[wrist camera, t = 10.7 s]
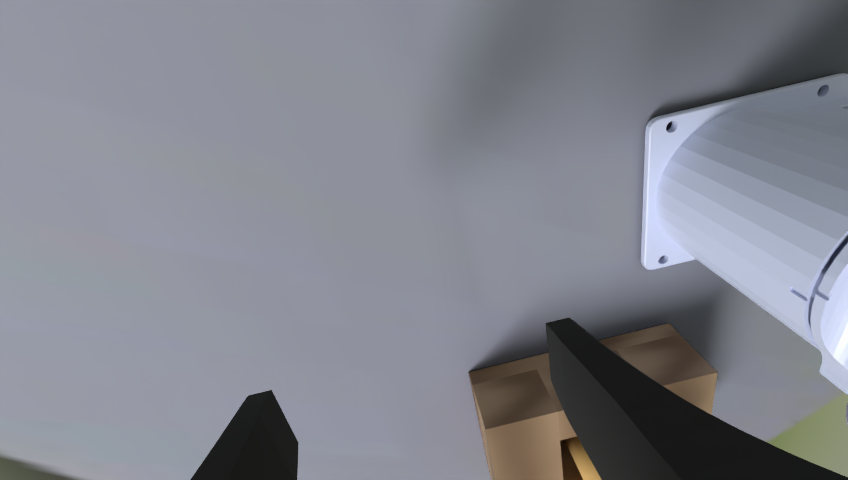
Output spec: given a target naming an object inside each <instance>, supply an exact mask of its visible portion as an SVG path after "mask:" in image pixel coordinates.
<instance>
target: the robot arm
mask: <svg viewBox="0 0 848 480" xmlns="http://www.w3.org/2000/svg"><path fill="white" fill-rule="evenodd" d="M820 87H821V89H820ZM819 89H820V92H819V93H818V90H819ZM671 121H672V126H671V127H670V129H668V130H666V127H667V124H668V123H669V122H671ZM663 255H664V256H663ZM661 256H663V258H662V259H660V260H659V258H660V257H661ZM695 259H697V260H698V261H700V262H701V263H702V264H704V265H705V266H706V267H708V268H709V269H710V270H712V271H713V272H714V273H716V274H717V275H718V276H720V277H721V278H723V279H724V280H725V281H727V282H728V283H729V284H731V285H732V286H733V287H735V288H736V289H737V290H739V291H740V292H741V293H743V294H744V295H745V296H747V297H748V298H750V299H751V300H752V301H754V302H755V303H756V304H758V305H759V306H760V307H762V308H763V309H764V310H766V311H767V312H768V313H770V314H771V315H773V316H774V317H775V318H777V319H778V320H779V321H781V322H782V323H783V324H785V325H786V326H787V327H789V328H790V329H791V330H793V331H794V332H796V333H797V334H798V335H800V336H801V337H802V338H804V339H805V340H806V341H808V342H809V343H810V344H812V345H813V346H814V347H816V348H817V349H818V350H820V351H821V353H822V364H821V367H820V373H821V374H822V375H823V376H824V377H826V378H827V379H828V380H829V381H831V382H832V383H833V384H835V385H836V386H837V387H838V388H840V389H841V390H842V391H843V392H845V393H846V394H848V74H846V73H839V74H835V75H831V76H827V77H822V78H818V79H814V80H810V81H805V82H801V83H797V84H793V85H788V86H784V87H780V88H776V89H772V90H767V91H763V92H759V93H755V94H750V95H746V96H742V97H738V98H733V99H729V100H725V101H721V102H717V103H712V104H708V105H704V106H700V107H695V108H691V109H687V110H683V111H678V112H674V113H670V114H666V115H662V116H657V117H655V118H653V119H652V120H650V121H649V123H648V124H647V126H646V134H645V162H644V190H643V218H642V245H641V264H642V265H643V266H644V267H645V268H646V269H648V270H654V269H658V268H662V267H666V266H670V265H674V264H678V263H683V262H687V261H691V260H695ZM546 332H547V343H548V354H549V365H550V376H551V382H552V384H553V387H554V389H555V392H556V394H557V396H558V399H559V401H560V403H561V406H562V408H563V410H564V413H565V415H566V417H567V419H568V421H569V423H570V424H571V426H572V428H573V430H574V432H575V433H576V435H577V437H578V439H579V441H580V442H581V444H582V446H583V448H584V449H585V451H586V453H587V455H588V456H589V458H590V460H591V462H592V464H593V465H594V467H595V469H596V471H597V472H598V474H599V476H600V478H601V479H602V480H848V477H845V476H843V475H840V474H838V473H835V472H833V471H831V470H828V469H826V468H823V467H821V466H818V465H816V464H813V463H811V462H808V461H806V460H804V459H801V458H799V457H797V456H795V455H792V454H790V453H788V452H786V451H784V450H782V449H779V448H777V447H775V446H773V445H771V444H769V443H767V442H765V441H762V440H760V439H758V438H756V437H754V436H752V435H750V434H747V433H745V432H743V431H741V430H739V429H737V428H735V427H733V426H731V425H729V424H727V423H726V422H724V421H722V420H720V419H718V418H716V417H715V416H713V415H711V414H709V413H707V412H705V411H704V410H702V409H700V408H698V407H697V406H695V405H693V404H691V403H690V402H688V401H686V400H685V399H683V398H681V397H680V396H678V395H676V394H675V393H673V392H672V391H670V390H669V389H667V388H665V387H664V386H662V385H661V384H659V383H658V382H656V381H655V380H653V379H652V378H650V377H649V376H647V375H646V374H644V373H643V372H641V371H640V370H638V369H637V368H635V367H634V366H633V365H631V364H630V363H628V362H627V361H626V360H624V359H623V358H621V357H620V356H619V355H617V354H616V353H614V352H613V351H612V350H610V349H609V348H608V347H606V346H605V345H604V344H603V343H601V342H600V341H599V340H597V339H596V338H595V337H593V336H592V335H591V334H590V333H588V332H587V331H586V330H585V329H583V328H582V327H581V326H579V325H578V324H577V323H576V322H574V321H573V320H572V319H570V318H566V319H561V320H557V321H553V322H549V323H546ZM846 421H847V425H848V404H847V408H846ZM297 468H298V441H297V439H296V437H295V435H294V433H293V431H292V430H291V428H290V426H289V424H288V422H287V420H286V418H285V416H284V414H283V412H282V410H281V408H280V406H279V404H278V402H277V400H276V398H275V396H274V394H273V392H272V390H270V391H266V392H262V393H257V394H253V395H249V396H248V397H247V398H246V399H245V401H244V402H243V404H242V405H241V407H240V408H239V410H238V411H237V413H236V414H235V416H234V417H233V419H232V420H231V422H230V423H229V425H228V426H227V428H226V429H225V431H224V432H223V433H222V435H221V436H220V438H219V439H218V441H217V442H216V444H215V445H214V447H213V448H212V450H211V451H210V453H209V454H208V456H207V457H206V458H205V460H204V461H203V463H202V464H201V466H200V467H199V468H198V470H197V471H196V473H195V474H194V476H193V477H192V478H191V480H297Z"/></svg>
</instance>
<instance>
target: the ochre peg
mask: <svg viewBox="0 0 848 480" xmlns="http://www.w3.org/2000/svg"><path fill="white" fill-rule="evenodd" d="M564 440H565V442H566V444H567V446H568V448H569V450H570V453H571V455H572V457H573V459H574V461H575V463H576V465H577V467H578V470H579V472H580V474H581V476H582V478H583V480H602V479H601V478H600V476H599V474H598V472H597V471H596V469H595V467H594V465H593V464H592V462H591V460H590V458H589V456H588V455H587V453H586V451H585V449H584V448H583V446H582V444H581V442H580V441H579V439H578V437H577V436H576V437H572V438H568V439H564Z"/></svg>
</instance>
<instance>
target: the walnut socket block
mask: <svg viewBox="0 0 848 480" xmlns="http://www.w3.org/2000/svg"><path fill="white" fill-rule="evenodd" d="M599 341H600V342H601V343H603V344H604V345H605V346H606V347H608V348H609V349H610V350H612V351H613V352H614V353H616V354H617V355H619V356H620V357H621V358H623V359H624V360H626V361H627V362H628V363H630V364H631V365H633V366H634V367H635V368H637V369H638V370H640V371H641V372H643V373H644V374H646V375H647V376H649V377H650V378H652V379H653V380H655V381H656V382H658V383H659V384H661V385H662V386H664V387H665V388H667V389H669V390H670V391H672V392H673V393H675V394H676V395H678V396H680V397H681V398H683V399H685V400H686V401H688V402H690V403H691V404H693V405H695V406H697V407H698V408H700V409H702V410H704V411H705V412H707V413H709V414H711V413H712V406H713V400H714V393H715V387H716V380H717V374H718V372H717V371H716V370H715V369H714V368H713V367H712V366H711V365H710V364H709V363H708V362H707V361H706V360H705V359H704V358H703V357H702V356H701V355H700V354H699V353H698V352H697V351H696V350H695V349H694V348H693V347H692V346H691V345H690V344H689V343H688V342H687V341H686V340H685V339H684V338H683V337H682V336H681V335H680V334H679V333H678V332H677V331H676V329H675V328H674V327H673V326H672V325H671V324H670V323H667V324H663V325H659V326H655V327H651V328H647V329H643V330H639V331H635V332H631V333H627V334H622V335H618V336H614V337H610V338H606V339H602V340H599ZM469 377H470V381H471V386H472V391H473V396H474V401H475V405H476V410H477V415H478V420H479V425H480V429H481V434H482V439H483V444H484V448H485V453H486V458H487V463H488V468H489V472H490V475H491V479H492V480H583V478H582V476H581V474H580V472H579V470H578V467H577V465H576V463H575V461H574V459H573V457H572V455H571V453H570V450H569V448H568V446H567V444H566V442H565V440H564V439H568V438H572V437H576V436H577V435H576V433H575V432H574V430H573V428H572V426H571V424H570V423H569V421H568V419H567V417H566V415H565V413H564V410H563V408H562V406H561V403H560V401H559V399H558V396H557V394H556V392H555V389H554V387H553V384H552V382H551V376H550V365H549V354H548V353H545V354H541V355H537V356H533V357H528V358H524V359H520V360H516V361H512V362H508V363H504V364H500V365H496V366H492V367H488V368H483V369H479V370H475V371H471V372H469Z"/></svg>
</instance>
